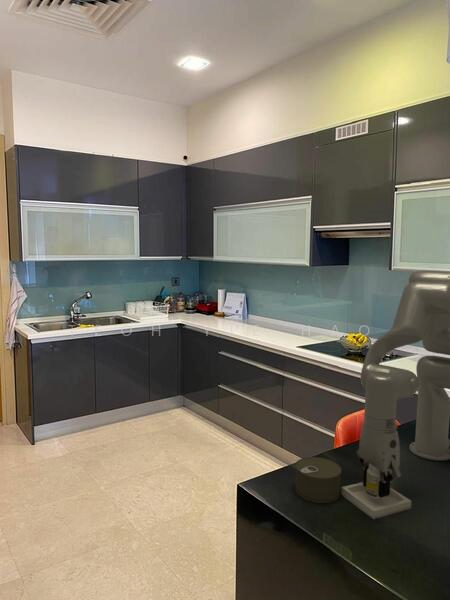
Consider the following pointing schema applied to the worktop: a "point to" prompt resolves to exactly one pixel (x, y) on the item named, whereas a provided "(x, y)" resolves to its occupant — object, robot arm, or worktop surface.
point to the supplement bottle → (373, 481)
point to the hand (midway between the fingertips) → (376, 489)
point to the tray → (375, 501)
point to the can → (318, 479)
